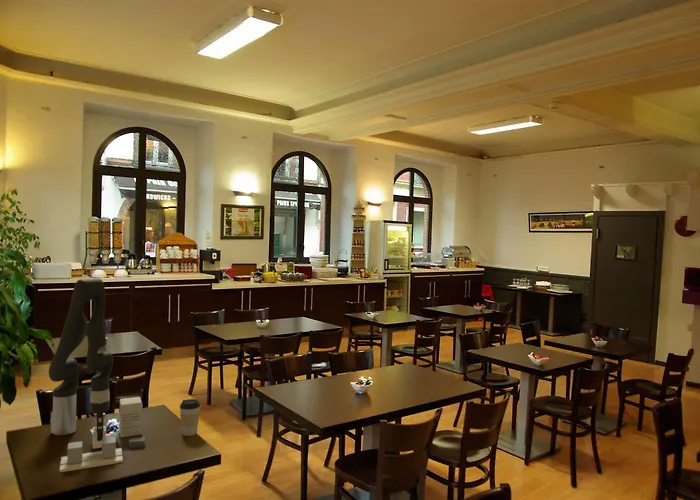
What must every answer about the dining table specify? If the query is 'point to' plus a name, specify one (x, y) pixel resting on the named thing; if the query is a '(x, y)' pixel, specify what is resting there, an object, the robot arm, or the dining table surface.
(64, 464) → the board
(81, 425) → the dining table surface
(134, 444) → the block
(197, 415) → the coffee cup
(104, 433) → the expansion module
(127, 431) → the supplement box
